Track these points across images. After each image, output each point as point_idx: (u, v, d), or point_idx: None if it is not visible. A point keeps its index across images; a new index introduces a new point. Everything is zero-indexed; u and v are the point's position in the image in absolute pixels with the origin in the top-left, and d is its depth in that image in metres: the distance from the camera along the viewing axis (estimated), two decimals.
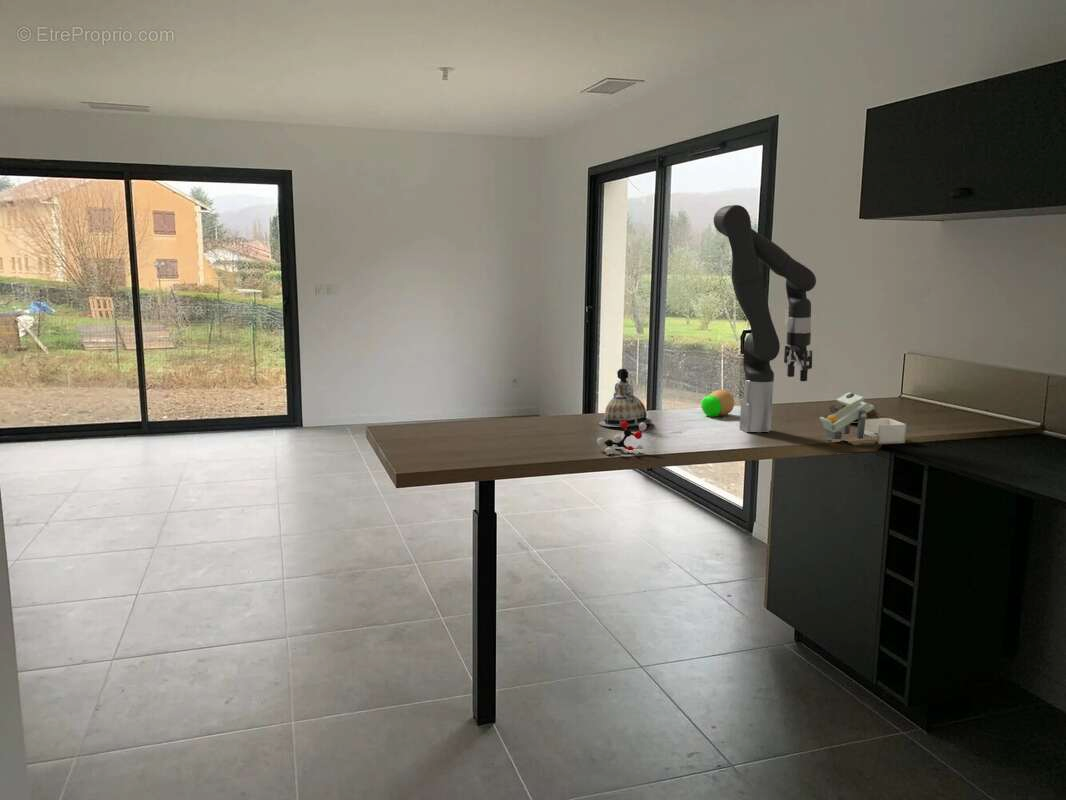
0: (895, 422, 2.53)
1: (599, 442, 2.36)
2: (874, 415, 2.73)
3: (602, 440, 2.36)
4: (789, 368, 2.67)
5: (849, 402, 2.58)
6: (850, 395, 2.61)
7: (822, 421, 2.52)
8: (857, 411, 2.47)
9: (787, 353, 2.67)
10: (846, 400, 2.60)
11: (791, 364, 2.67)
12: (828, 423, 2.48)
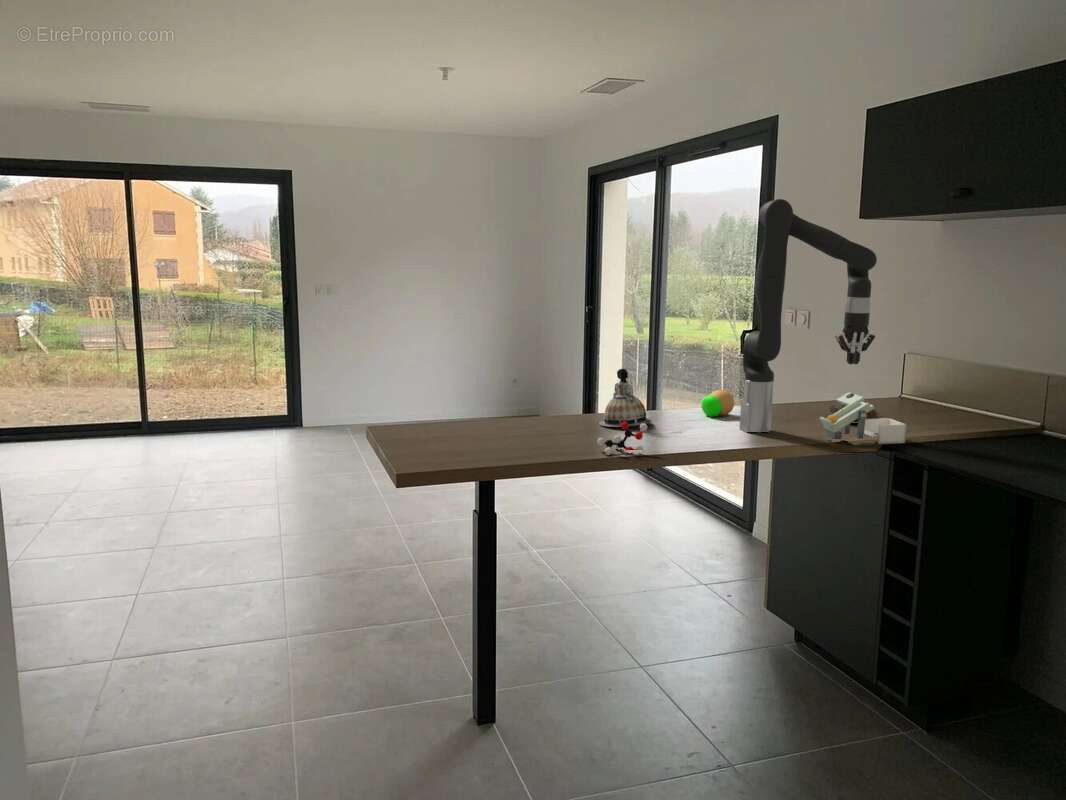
0: (895, 422, 2.53)
1: (599, 442, 2.36)
2: (874, 415, 2.73)
3: (602, 440, 2.36)
4: None
5: (849, 402, 2.58)
6: (850, 395, 2.61)
7: (822, 421, 2.52)
8: (857, 411, 2.47)
9: None
10: (846, 400, 2.60)
11: None
12: (828, 423, 2.48)
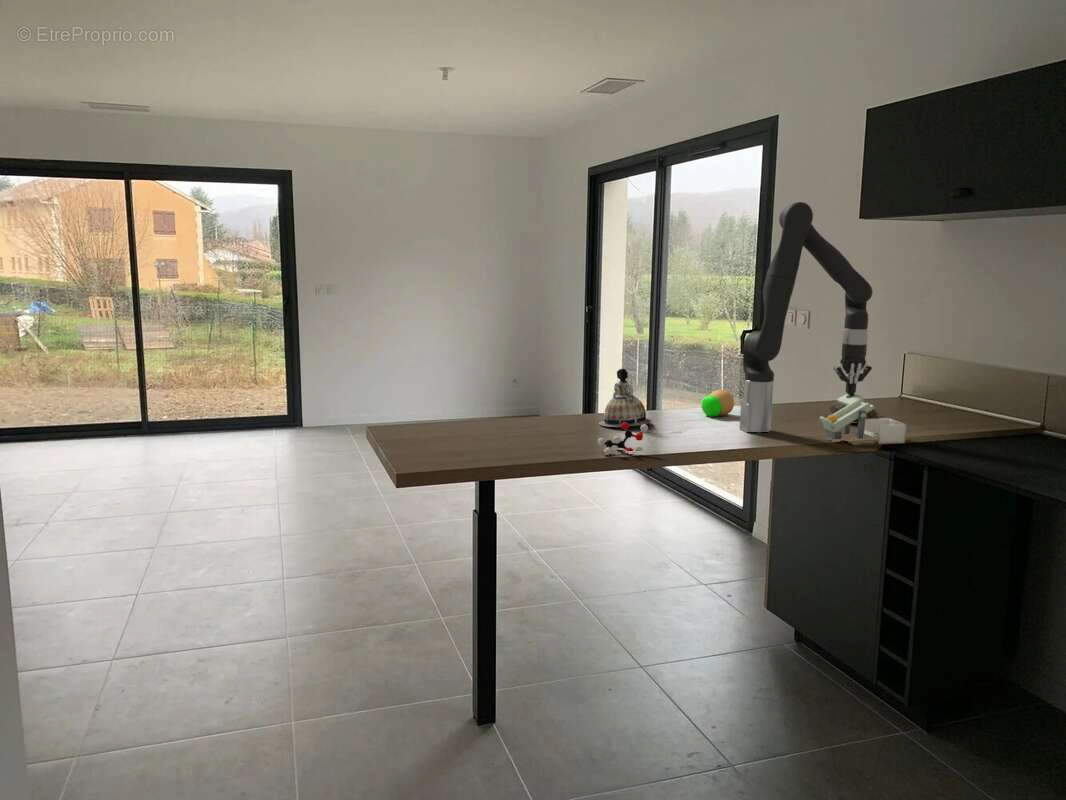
0: (895, 422, 2.53)
1: (599, 442, 2.36)
2: (874, 415, 2.73)
3: (602, 440, 2.36)
4: None
5: (849, 402, 2.58)
6: (850, 395, 2.61)
7: (822, 421, 2.51)
8: (857, 411, 2.47)
9: None
10: (846, 400, 2.60)
11: None
12: (828, 423, 2.48)
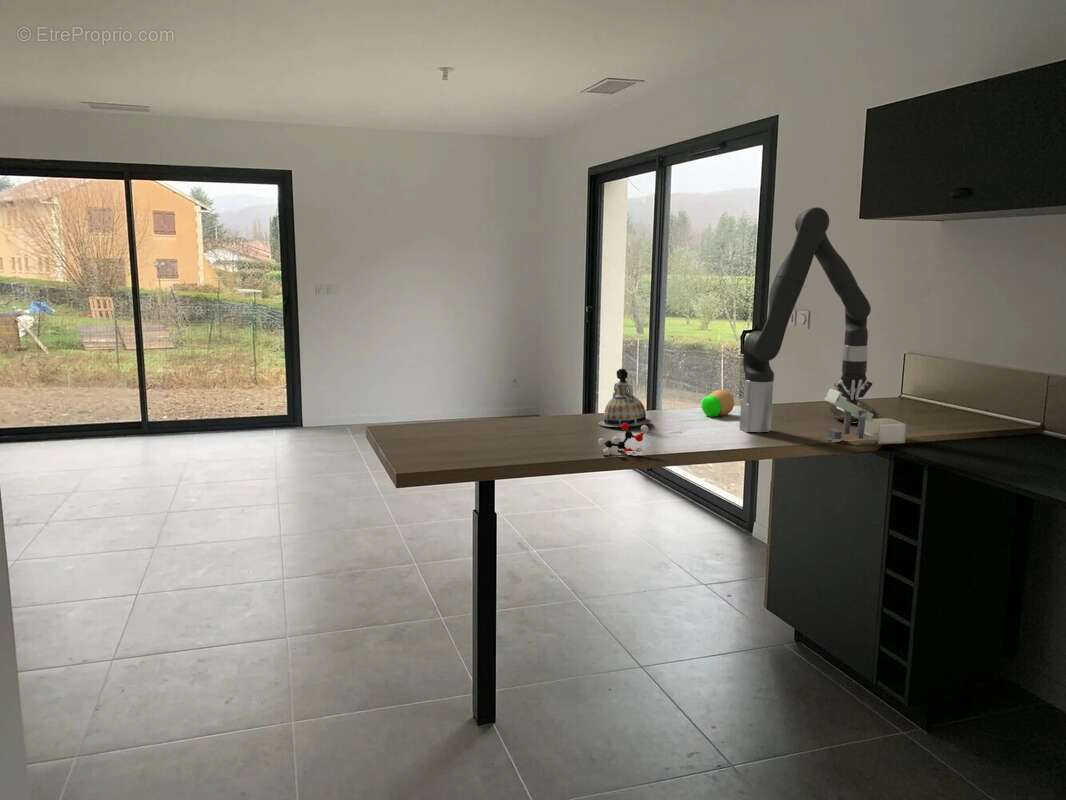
0: (895, 422, 2.53)
1: (599, 442, 2.36)
2: (874, 415, 2.73)
3: (603, 441, 2.35)
4: None
5: None
6: None
7: (830, 392, 2.50)
8: (861, 409, 2.47)
9: None
10: None
11: None
12: (837, 393, 2.46)
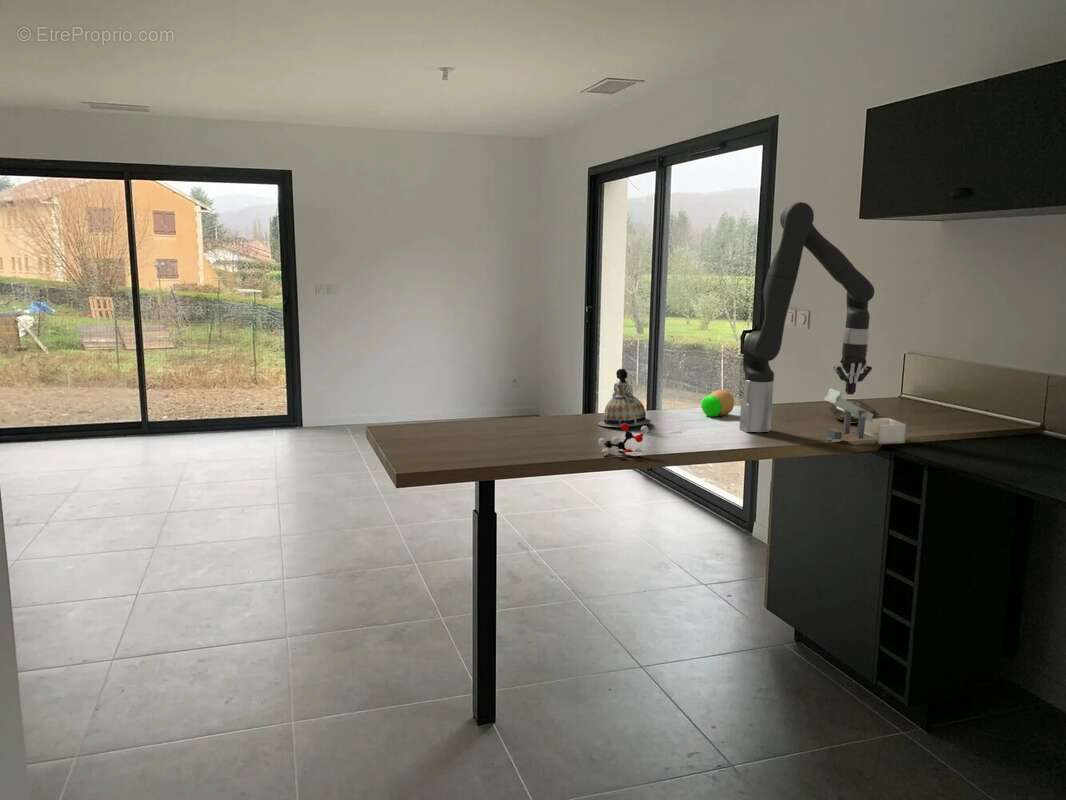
0: (895, 422, 2.53)
1: (600, 443, 2.36)
2: (874, 415, 2.73)
3: (603, 441, 2.35)
4: None
5: None
6: None
7: (830, 392, 2.50)
8: (861, 409, 2.47)
9: None
10: None
11: None
12: (837, 393, 2.46)
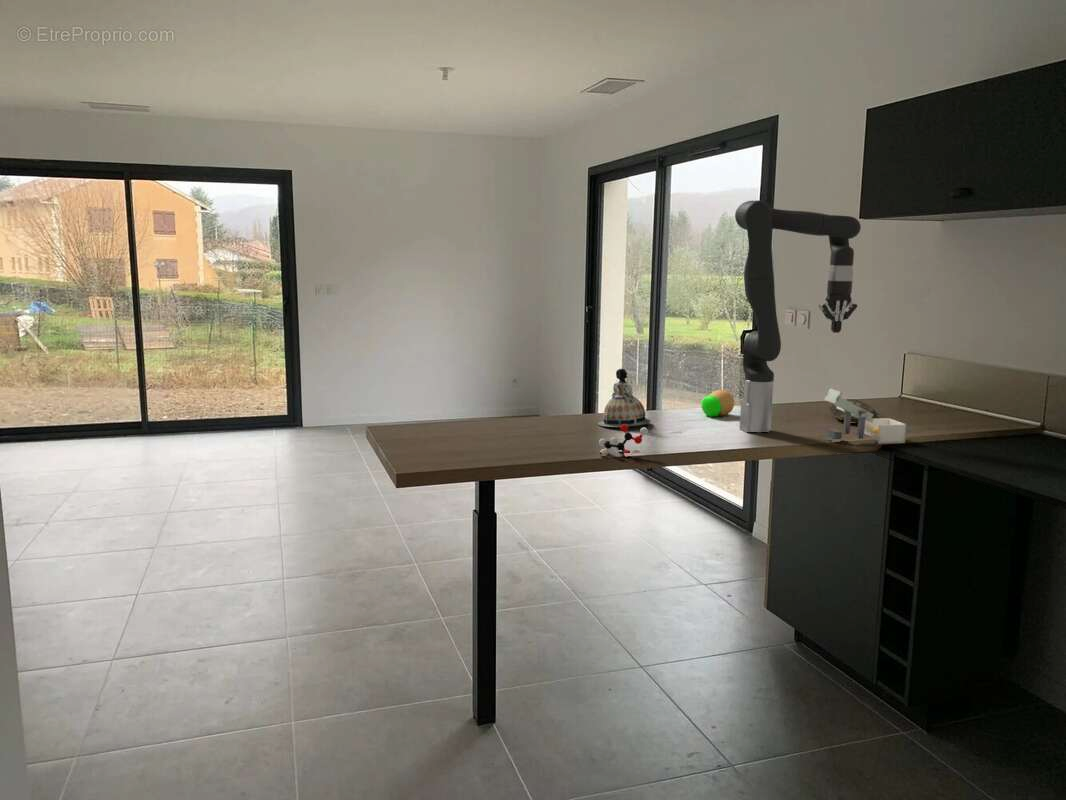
0: (895, 422, 2.53)
1: (600, 443, 2.35)
2: (874, 415, 2.73)
3: (603, 441, 2.35)
4: None
5: None
6: None
7: (830, 392, 2.50)
8: (861, 409, 2.47)
9: None
10: None
11: None
12: (837, 393, 2.46)
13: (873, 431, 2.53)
